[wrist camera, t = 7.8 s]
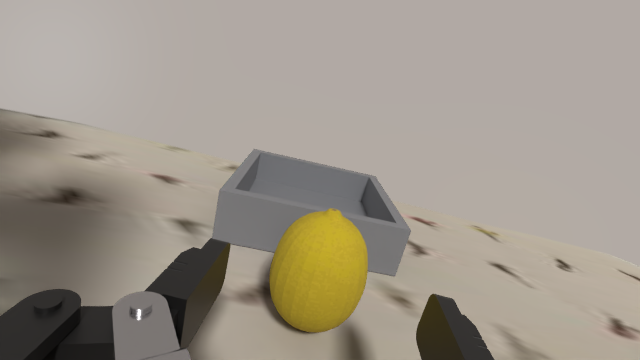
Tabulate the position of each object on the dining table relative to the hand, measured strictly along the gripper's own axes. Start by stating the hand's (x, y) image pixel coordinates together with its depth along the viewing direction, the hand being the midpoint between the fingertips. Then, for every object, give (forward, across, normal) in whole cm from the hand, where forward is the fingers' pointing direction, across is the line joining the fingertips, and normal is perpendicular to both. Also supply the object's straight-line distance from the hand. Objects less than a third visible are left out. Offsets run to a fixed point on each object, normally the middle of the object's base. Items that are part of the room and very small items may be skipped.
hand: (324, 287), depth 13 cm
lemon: (+6, 0, +7) cm, 9 cm away
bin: (+22, +1, +7) cm, 23 cm away
